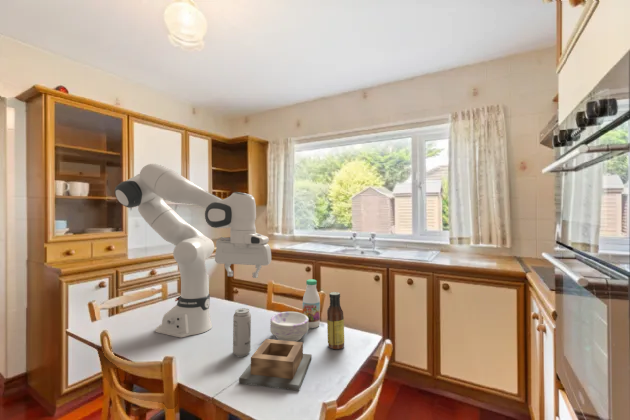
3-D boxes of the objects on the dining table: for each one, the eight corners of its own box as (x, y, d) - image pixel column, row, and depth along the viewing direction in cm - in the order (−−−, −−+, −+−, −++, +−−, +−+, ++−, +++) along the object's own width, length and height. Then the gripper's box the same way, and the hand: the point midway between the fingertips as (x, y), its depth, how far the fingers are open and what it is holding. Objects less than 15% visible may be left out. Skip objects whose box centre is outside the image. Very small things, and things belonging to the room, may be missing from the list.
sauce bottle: (346, 344, 110) (346, 291, 110) (342, 351, 104) (342, 296, 104) (329, 341, 112) (329, 290, 112) (324, 348, 106) (325, 294, 106)
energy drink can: (249, 357, 99) (249, 313, 99) (231, 357, 99) (232, 313, 99) (251, 348, 105) (251, 307, 105) (234, 349, 105) (235, 308, 105)
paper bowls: (303, 348, 106) (303, 326, 106) (264, 343, 109) (264, 322, 109) (312, 331, 121) (312, 312, 121) (277, 328, 124) (277, 309, 124)
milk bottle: (302, 322, 131) (302, 278, 132) (318, 321, 132) (319, 278, 132) (302, 329, 124) (303, 282, 124) (320, 328, 124) (321, 282, 125)
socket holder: (239, 383, 84) (239, 360, 84) (261, 353, 102) (261, 335, 102) (299, 390, 81) (299, 367, 81) (311, 358, 98) (311, 339, 98)
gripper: (211, 237, 101) (211, 277, 101) (267, 239, 97) (266, 280, 97) (220, 236, 107) (220, 273, 107) (273, 237, 104) (272, 276, 103)
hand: (242, 276), depth 102 cm, fingers open, 8 cm apart
